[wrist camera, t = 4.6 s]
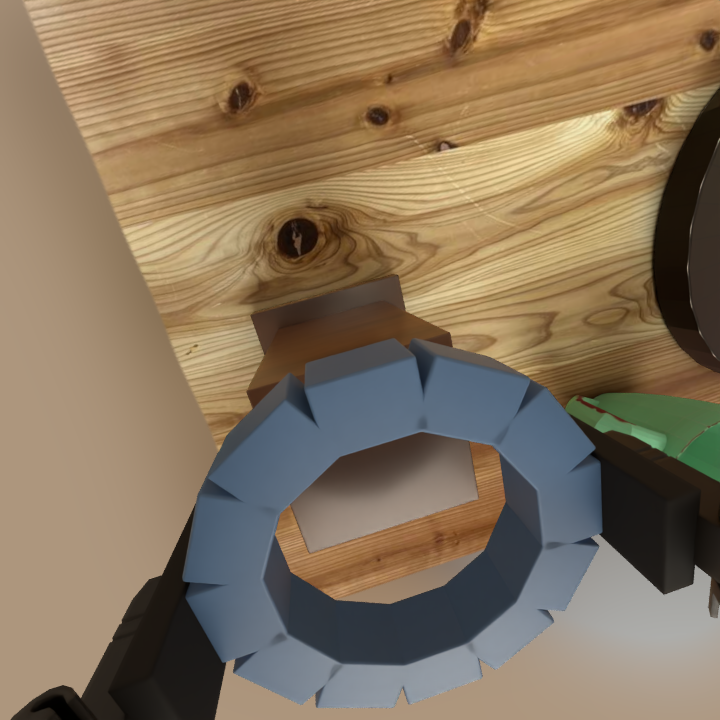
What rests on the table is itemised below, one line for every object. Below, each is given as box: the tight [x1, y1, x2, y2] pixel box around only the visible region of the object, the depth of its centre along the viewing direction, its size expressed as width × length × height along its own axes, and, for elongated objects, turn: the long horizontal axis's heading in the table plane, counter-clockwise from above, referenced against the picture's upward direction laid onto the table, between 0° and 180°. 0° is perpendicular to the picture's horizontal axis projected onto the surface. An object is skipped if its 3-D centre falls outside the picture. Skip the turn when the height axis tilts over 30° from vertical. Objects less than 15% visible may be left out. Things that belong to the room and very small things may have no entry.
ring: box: [183, 338, 603, 708], centre depth 9 cm, size 11×11×2 cm
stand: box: [247, 274, 479, 553], centre depth 20 cm, size 11×11×14 cm
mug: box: [565, 393, 720, 482], centre depth 27 cm, size 15×10×10 cm
